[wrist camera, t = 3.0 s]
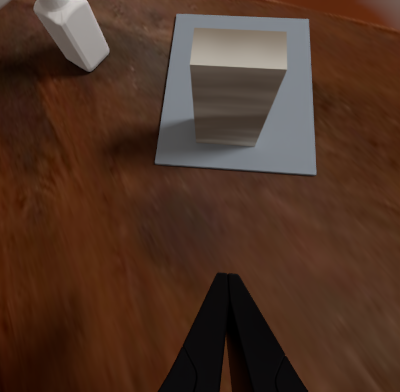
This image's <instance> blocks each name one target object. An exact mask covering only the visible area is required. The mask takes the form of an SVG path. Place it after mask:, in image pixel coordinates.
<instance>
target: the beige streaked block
mask: <svg viewBox="0 0 400 392" xmlns="http://www.w3.org/2000/svg"><path fill="white" fill-rule="evenodd" d="M286 71H287V32H284V31H261V30H238V29H215V28H194V34H193V42H192V50H191V59H190V73H191V86H192V98H193V110H194V123H195V135H196V143H207V144H223V145H238V146H253V147H255V145H256V142H257V140H258V138H259V135H260V133H261V131H262V128H263V126H264V124H265V121H266V119H267V116H268V114H269V112H270V109H271V107H272V105H273V102H274V100H275V97H276V95H277V93H278V90H279V88H280V86H281V83H282V81H283V78H284V76H285V74H286Z"/></svg>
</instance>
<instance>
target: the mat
mask: <svg viewBox="0 0 400 392" xmlns="http://www.w3.org/2000/svg"><path fill="white" fill-rule="evenodd" d="M194 28H215V29H238V30H261V31H284V32H287V71H286V74H285V76H284V78H283V81H282V83H281V86H280V88H279V90H278V93H277V95H276V97H275V100H274V102H273V105H272V107H271V109H270V112H269V114H268V116H267V119H266V121H265V124H264V126H263V128H262V131H261V133H260V135H259V138H258V140H257V142H256V145H255V147H253V146H238V145H223V144H207V143H196V135H195V123H194V110H193V98H192V86H191V73H190V59H191V50H192V42H193V34H194ZM155 164H156V165H170V166H184V167H198V168H212V169H226V170H241V171H255V172H269V173H283V174H297V175H311V176H315V175H316V157H315V137H314V117H313V96H312V76H311V56H310V36H309V19H290V18H266V17H242V16H217V15H193V14H177V16H176V23H175V30H174V37H173V43H172V50H171V57H170V64H169V70H168V77H167V84H166V91H165V97H164V104H163V111H162V118H161V124H160V131H159V138H158V145H157V151H156V158H155Z"/></svg>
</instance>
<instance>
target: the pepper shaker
mask: <svg viewBox="0 0 400 392" xmlns="http://www.w3.org/2000/svg"><path fill="white" fill-rule="evenodd" d="M34 12H35V13H36V15H37V16H38V18H39V19H40V21H41V22H42V23H43V25H44V26H45V28H46V29H47V31H48V32H49V34H50V35H51V37H52V38H53V40H54V41H55V42H56V44H57V45H58V47H59V48H60V50H61V51H62V53H63V54H64V56H65V57H66V59H68V60H69V61H71V62H73V63H74V64H76V65H77V66H79V67H81V68H82V69H84V70H86V71H87V72H91V71H93V70H94V69H95V68H96V67H97V66H98V65H99V63H100V62H101V61H102V60H103V59H104V58H105V57H106V56H107V55H108V54H109V47H108V45H107V43H106V41H105V39H104V36H103V34H102V32H101V30H100V28H99V25H98V23H97V21H96V19H95V17H94V14H93V12H92V10H91V8H90V6H89V3H88V1H87V0H37V1H36V2H35V5H34Z"/></svg>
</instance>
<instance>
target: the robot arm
mask: <svg viewBox="0 0 400 392" xmlns="http://www.w3.org/2000/svg"><path fill="white" fill-rule="evenodd" d="M225 337H226V340H227V349H228V358H229V367H230V376H231V386H232V392H308V390H307V389H306V387H305V386H304V384H303V383H302V381H301V379H300V378H299V376H298V375H297V373H296V371H295V370H294V368H293V366H292V365H291V363H290V361H289V360H288V358H287V356H285V353H284V351H283V350H282V348H281V346H280V344H279V343H278V341H277V339H276V338H275V336H274V334H273V333H272V331H271V329H270V327H269V326H268V324H267V322H266V321H265V319H264V317H263V316H262V314H261V312H260V310H259V309H258V307H257V305H256V304H255V302H254V300H253V298H252V297H251V295H250V293H249V292H248V290H247V288H246V287H245V285H244V283H243V281H242V280H241V278H240V276H239V275H238V274H233V273H229V274H228V275H227V273H217V274H216V276H215V278H214V280H213V282H212V285H211V287H210V289H209V291H208V293H207V295H206V297H205V299H204V301H203V304H202V306H201V308H200V310H199V312H198V314H197V316H196V318H195V320H194V323H193V325H192V327H191V329H190V331H189V333H188V335H187V337H186V339H185V342H184V344H183V347H182V348H181V350H180V352H179V354H178V356H177V358H176V360H175V362H174V364H173V366H172V368H171V370H170V372H169V373H168V375H167V377H166V379H165V380H164V382H163V384H162V385H161V387H160V389H159V390H158V392H220V383H221V373H222V364H223V355H224V346H225ZM284 356H285V357H284Z"/></svg>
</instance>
